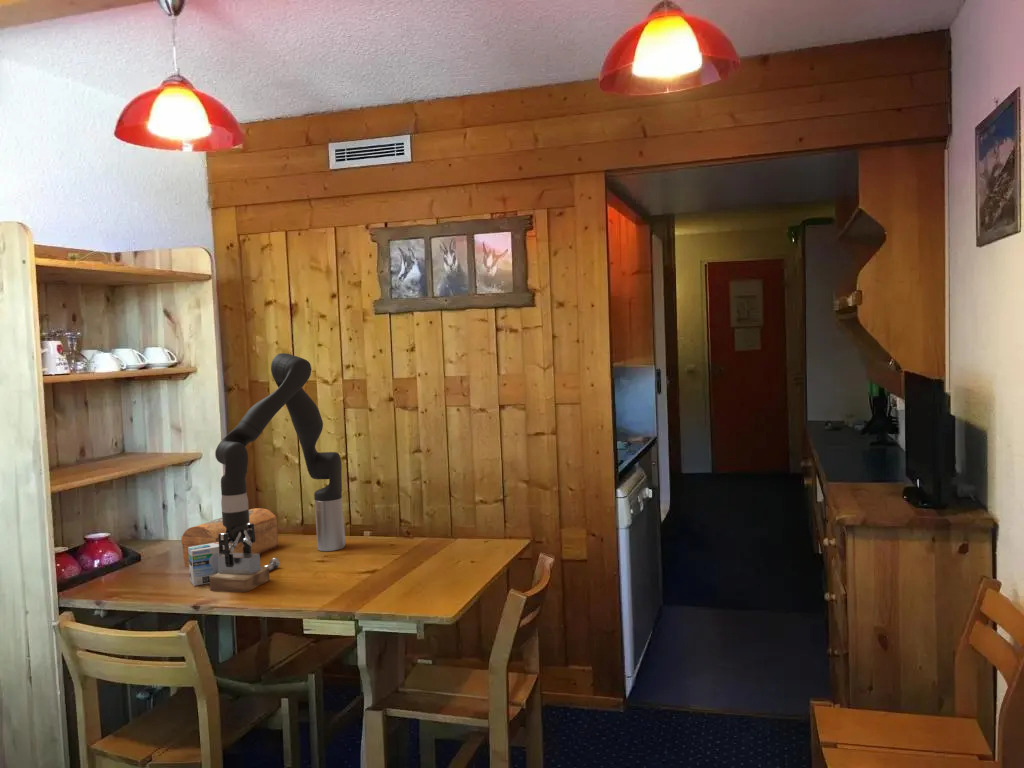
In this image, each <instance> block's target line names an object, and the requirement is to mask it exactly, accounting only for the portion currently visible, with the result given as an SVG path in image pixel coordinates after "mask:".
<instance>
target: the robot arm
mask: <svg viewBox="0 0 1024 768" xmlns="http://www.w3.org/2000/svg"><path fill="white" fill-rule="evenodd" d="M270 373H271V375H272V379H273V380H274V382H275V384H276V386H277V389H276V390H274V391H273V392H272V393H270V394H269V395H267V396H266V397H264V398H262V399H261V400H259V401H257V402H256V403H255V404H253V405H252V406H251V407H249V409H248V410H247V411H246V413H245V414H244V415H243V416H242V418H241V420H240V421H239V422H238V423H237V425H236V426H235V427H234V428H233V429H232V430H231V431H230V432H228V434H227V435H225V437H223V439H222V440H221V441H220V442H219V443H218V445H217V447H216V449H215V453H214V455H215V459H216V461H217V462H218V463H219V464H221V465H225V469H224V470H225V471H224V474H223V475H222V476H221V478H220V490H221V499H220V500H221V501H220V502H221V503H220V505H221V507H220V508H221V518H222V521H223V526H225V527H226V533H219V553H220V554H224V555H225V564H226V567H233V566H234V562H233V554H232V553H233V550H234V548H235V547H236V546H237V544H238V543H240V542H241V543H242V544H243V546H244V547H243V553H251V546H252V543H255V531H254V524H253V523H249V510H250V509H249V498H248V495H247V494H248V493H247V481H246V476H247V472H248V465H249V454H248V450H247V448H246V446H247V445H249V444H250V443H252V442H254V441H256V440H257V439H258V438H259V437H260V435H262V433H263V431H264V430H265V428H266V427H267V426H268V425H269V423H270V422H271V420H273V418H274V416H275V415H276V414H277V413H278V412H279V411H280V410H281V409H282V408H283V407H284V406H285V405H286V406H285V407H286V408H287V410H288V413H289V417H290V419H291V423H292V425H293V428H294V430H295V433H296V435H297V438H298V441H299V444H300V447H301V449H302V452H303V458H304V461H305V465H306V468H307V469H306V470H307V472H308V475H309V476H310V478H312V479H314V480H329V481H328V484H327V485H326V486H324V487H322V488H319V489H316V491H314V493H313V495H314V496H313V498H314V499H313V500H314V513H315V527H316V528H315V529H316V530H315V531H316V543H317V546H316V547H317V550H318V551H322V552H331V551H337V550H342V549H344V548H345V547H346V533H345V532H346V531H345V530H346V529H345V518H344V513H343V512H344V511H343V495H342V494H343V493H342V492H343V491H342V490H343V485H342V484H343V482H342V481H343V480H342V476H343V475H342V469H343V468H342V467H343V465H342V459H341V455H340V454H339V453H338V452H337V451H329V452H328V451H327V452H325V451H324V452H323V451H322V452H320V451H319V452H318V450H317V448H316V445H317V442H318V440H319V438H320V436H321V434H322V432H323V429H324V422H323V419H322V415H321V413H320V410H319V408H318V406H317V404H316V402H315V401H314V400H313V399H312V398H311V396H309V395H308V393H307V392H306V391H305V390H304V388H303V387H304V386H305V385H306V383H307V382H308V381H309V379H310V377H311V375H312V364H311V363H310V362H309V360H307V359H305V358H303V357H301V356H297V355H294V354H291V353H285V352H281V353H278V354H276V355H275V356H274V357H273V358H272V361H271V366H270ZM250 535H251V538H252V539H250ZM229 541H230V543H229ZM223 546H225V548H224V550H223ZM229 547H230V550H229Z"/></svg>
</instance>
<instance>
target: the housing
mask: <svg viewBox="0 0 1024 768" xmlns="http://www.w3.org/2000/svg"><path fill="white" fill-rule="evenodd" d="M232 554H233V562H234V566H233V567H226V564H225V555H224V554H223V555H221V556H218V557H217V558H218V572H219V574H238V575H252V574H254V573H256V572H258V571H260V570H261V568H260V567H261V556H260V555H261V553H260V554H256V553H232Z"/></svg>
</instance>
